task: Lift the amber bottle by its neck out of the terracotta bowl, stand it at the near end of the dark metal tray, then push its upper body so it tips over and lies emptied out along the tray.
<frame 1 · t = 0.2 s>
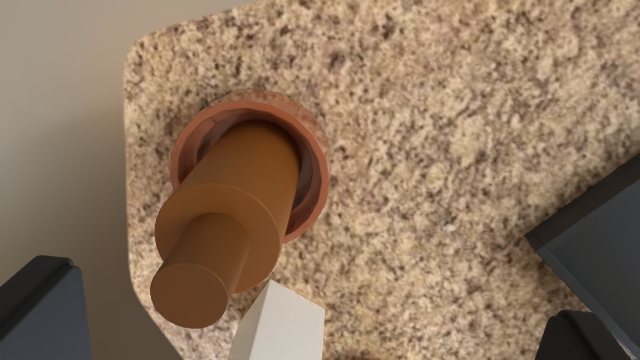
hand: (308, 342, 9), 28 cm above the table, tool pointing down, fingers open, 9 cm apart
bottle: (258, 161, 38), point 1 cm above the table, touching bowl
milk: (282, 314, 44), on the table
bowl: (259, 158, 38), on the table
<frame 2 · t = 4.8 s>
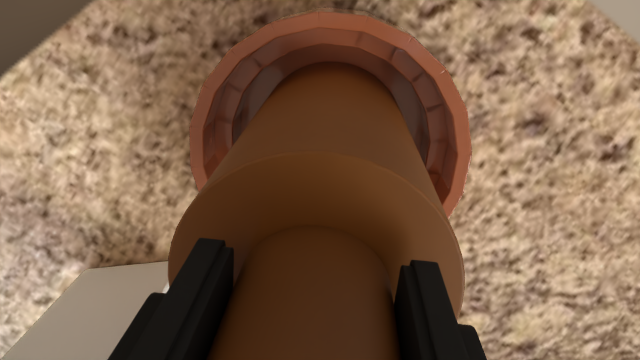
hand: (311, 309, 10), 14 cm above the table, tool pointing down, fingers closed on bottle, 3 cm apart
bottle: (330, 134, 23), point 1 cm above the table, touching bowl, gripper
milk: (148, 303, 29), on the table
bowl: (331, 130, 24), on the table
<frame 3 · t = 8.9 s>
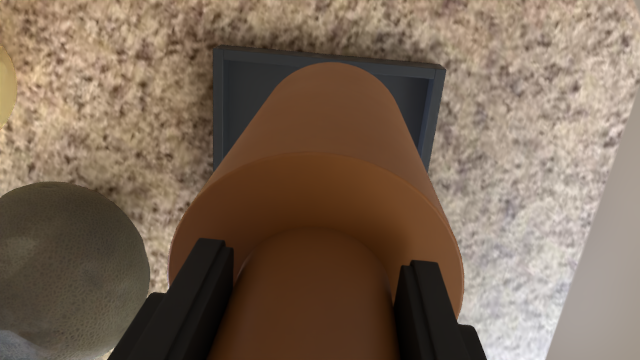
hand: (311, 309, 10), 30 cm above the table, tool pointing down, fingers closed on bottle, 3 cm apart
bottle: (330, 134, 23), point 16 cm above the table, touching gripper
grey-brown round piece: (104, 226, 45), on the table
tray: (313, 242, 44), on the table
when the fingers open (14 cm above the table, at t = 13.0 s): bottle stays where it is, resting on tray.
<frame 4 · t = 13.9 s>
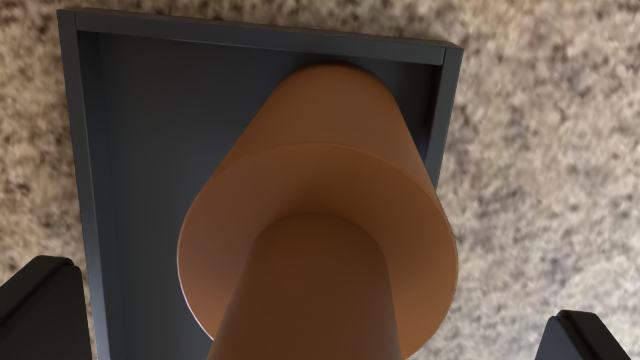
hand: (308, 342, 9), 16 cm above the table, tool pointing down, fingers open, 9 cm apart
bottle: (331, 131, 24), point 1 cm above the table, touching tray
tray: (255, 317, 29), on the table
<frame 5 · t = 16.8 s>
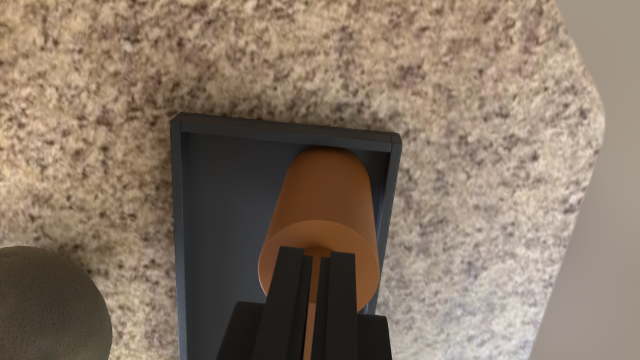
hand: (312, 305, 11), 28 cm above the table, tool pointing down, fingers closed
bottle: (327, 184, 39), point 1 cm above the table, touching tray
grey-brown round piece: (71, 280, 45), on the table
tray: (278, 299, 44), on the table
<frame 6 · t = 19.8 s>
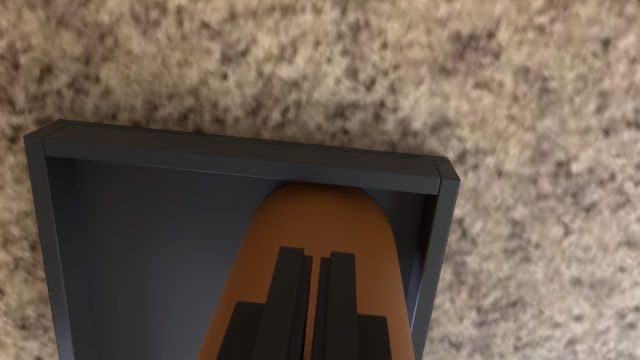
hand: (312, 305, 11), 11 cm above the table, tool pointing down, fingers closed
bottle: (320, 246, 22), point 1 cm above the table, touching tray
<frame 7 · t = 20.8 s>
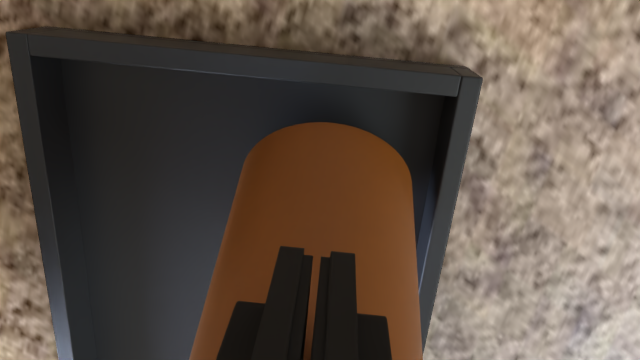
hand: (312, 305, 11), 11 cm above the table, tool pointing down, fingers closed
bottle: (326, 186, 20), point 2 cm above the table, tilted 25°, touching tray
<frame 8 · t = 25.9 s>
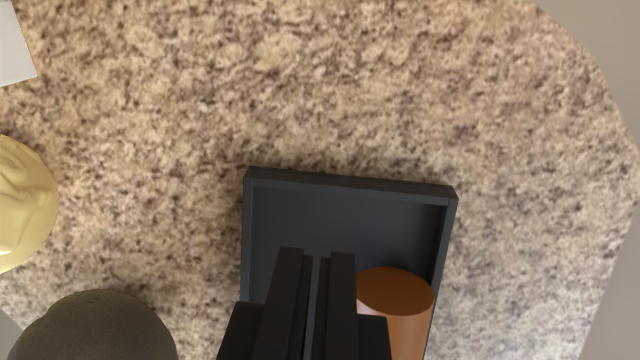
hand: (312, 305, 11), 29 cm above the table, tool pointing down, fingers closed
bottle: (392, 289, 40), point 4 cm above the table, tilted 90°, touching tray
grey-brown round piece: (135, 317, 48), on the table
tray: (331, 335, 47), on the table
sculpture: (16, 180, 43), on the table
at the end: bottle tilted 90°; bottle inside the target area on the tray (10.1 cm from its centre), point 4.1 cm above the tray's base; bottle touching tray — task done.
